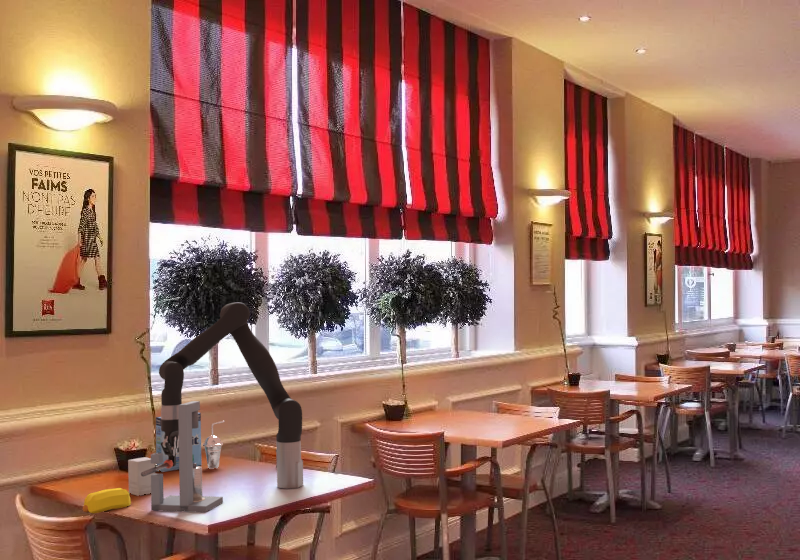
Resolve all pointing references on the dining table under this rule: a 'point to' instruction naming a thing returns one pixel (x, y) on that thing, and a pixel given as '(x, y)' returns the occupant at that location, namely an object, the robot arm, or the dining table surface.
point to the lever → (158, 467)
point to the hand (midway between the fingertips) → (172, 465)
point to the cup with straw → (213, 449)
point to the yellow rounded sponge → (106, 500)
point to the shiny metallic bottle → (197, 482)
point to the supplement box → (139, 476)
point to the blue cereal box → (195, 452)
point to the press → (181, 469)
